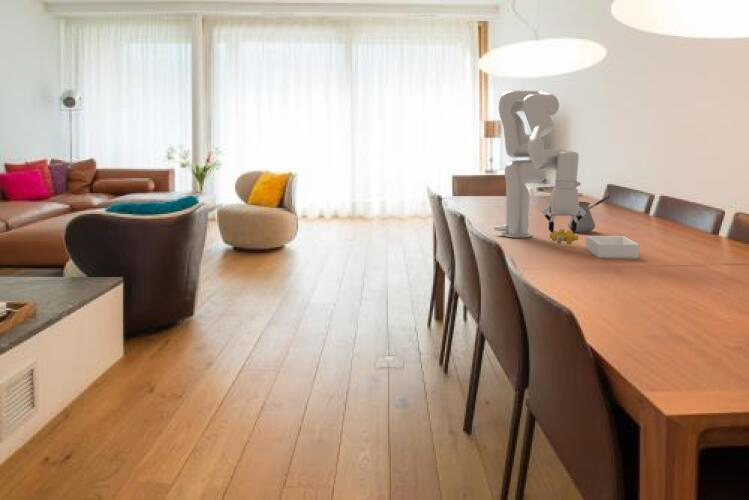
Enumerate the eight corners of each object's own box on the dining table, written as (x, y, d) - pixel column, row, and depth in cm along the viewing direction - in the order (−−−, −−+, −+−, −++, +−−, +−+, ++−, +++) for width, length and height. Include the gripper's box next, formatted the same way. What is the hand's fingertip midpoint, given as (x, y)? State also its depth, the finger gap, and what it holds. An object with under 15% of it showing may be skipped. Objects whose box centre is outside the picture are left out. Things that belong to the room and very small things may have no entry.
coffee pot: (579, 234, 261) (581, 199, 259) (561, 230, 272) (563, 197, 269) (618, 231, 269) (620, 197, 267) (599, 227, 280) (601, 194, 277)
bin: (598, 258, 212) (599, 244, 211) (585, 248, 229) (586, 235, 228) (638, 258, 211) (639, 244, 210) (622, 249, 228) (623, 236, 227)
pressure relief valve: (550, 240, 233) (577, 242, 230) (547, 251, 223) (576, 254, 220) (551, 226, 231) (578, 228, 228) (548, 237, 221) (577, 240, 218)
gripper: (587, 184, 229) (583, 230, 233) (539, 183, 230) (536, 229, 234) (592, 186, 222) (588, 234, 226) (543, 186, 223) (540, 233, 227)
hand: (562, 231), depth 230 cm, fingers closed on pressure relief valve, 7 cm apart
